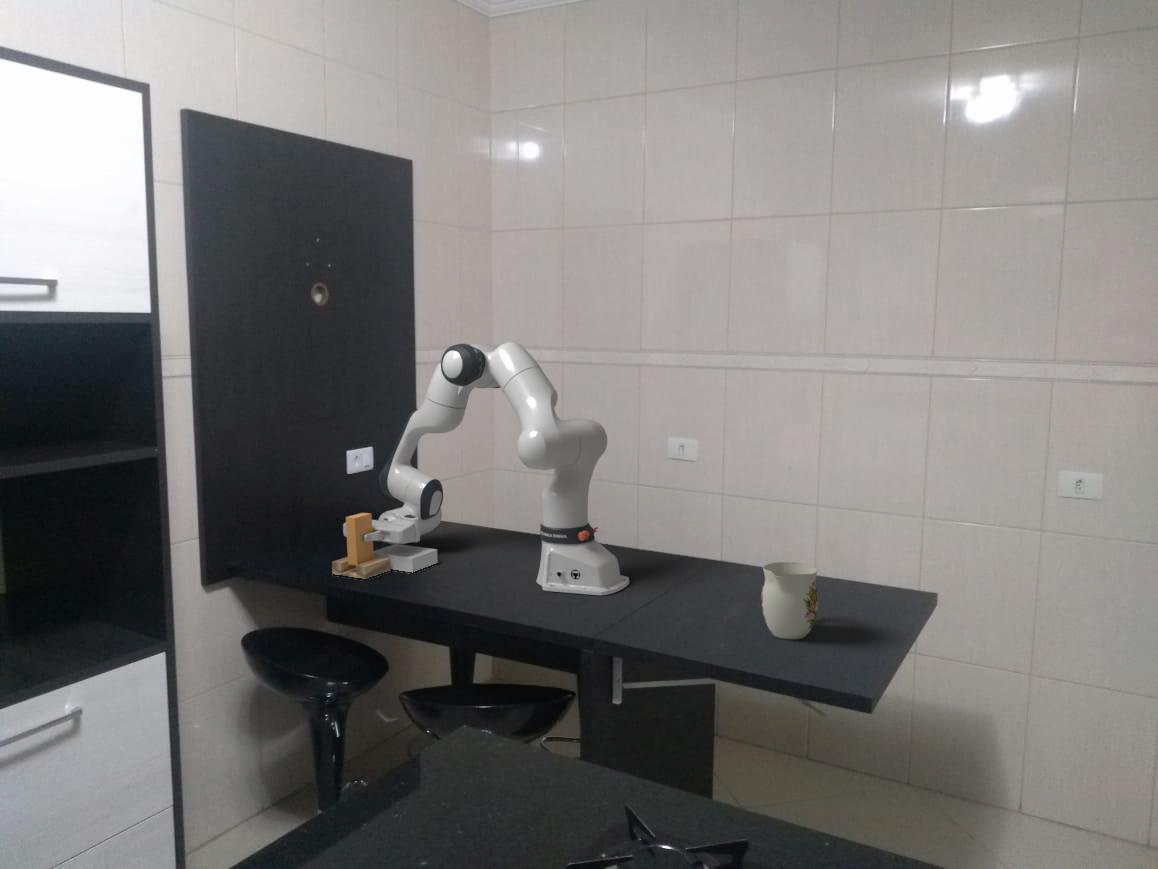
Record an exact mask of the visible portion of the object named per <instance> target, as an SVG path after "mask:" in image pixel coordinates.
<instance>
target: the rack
mask: <svg viewBox="0 0 1158 869" xmlns="http://www.w3.org/2000/svg"><path fill="white" fill-rule="evenodd" d="M331 570H332V571H331V572H332V575H333V574H335V575H343V576H348V577H354V578H362V579H367V578H369V577H372V576H376V575H378V574H381V573H384V572H387V571H390V572H391V570H390V558H383V557H379V558H377V559H374V560H371V561H368V562H365V563H362V564H359V565H350V564H348V556H345V557H342V558H340V559H337V560H333V561H332V562H331Z"/></svg>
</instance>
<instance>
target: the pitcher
mask: <svg viewBox="0 0 1158 869" xmlns="http://www.w3.org/2000/svg"><path fill="white" fill-rule="evenodd" d="M762 569H763V575H764V583H763V586H762V588H761V595H760V596H761V597H760V600H761V601H760V602H761V609H762V610H761V611H762V615H763V618H764V621H765V624H766V625H767V627H768V630H769V631H770V632H771V634H772V635H773V636H775V637H777V638H779V639H784V640H801V639H804V638H805V637H807V635H808V634H809V633H810V632H811V631H812V628H813V627H814V624H815V622H816V620H817V616H818V612H819V592H818V591H819V590H818V589H817V585H816V580H817V579H816V578H817V574H818V569H817V568H816V567H815V566H814V565H813V566H812V565H810V564H807V563H803V562H802V563H800V562H795V561H794V562H792V561H779V562H771V563H768V564H765V565H764V566H763V567H762Z"/></svg>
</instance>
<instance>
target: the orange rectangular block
mask: <svg viewBox="0 0 1158 869" xmlns="http://www.w3.org/2000/svg"><path fill="white" fill-rule="evenodd" d="M372 514H373V513H368V512H360V513H357V514H353V515H348V516H345V523H346V532H347V537H346V549H347V557H348V564H350V565H359V564H362V563H365V562H368V561H371V560H374V554H373V551H374V541H369V542H364V541H362V535H363V534H366V533H368V534H369V533H373V532H372V520H373V517H372V516H373V515H372Z"/></svg>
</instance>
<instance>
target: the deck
mask: <svg viewBox="0 0 1158 869" xmlns="http://www.w3.org/2000/svg"><path fill="white" fill-rule="evenodd" d="M373 554H374V559H377V558H379V557H383V558H390V569H393V570H399V571H405V572H412V573H413V572H415V571H418V570H420V569H423V568H425V567H428V566H431V565H433V564H436V563H439V562H438V561H439V560H438V549H437V548H436V549H435V548H429V547H421V546H414V545H406V544H391V545H388V546H385V547H383V548H379V549H375V550H373Z"/></svg>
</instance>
